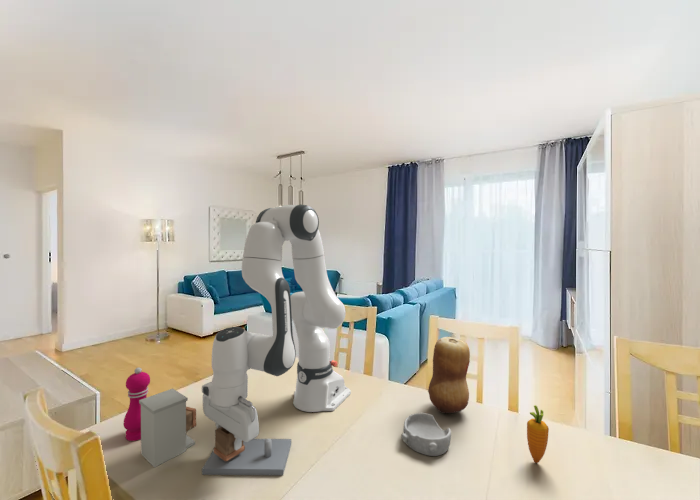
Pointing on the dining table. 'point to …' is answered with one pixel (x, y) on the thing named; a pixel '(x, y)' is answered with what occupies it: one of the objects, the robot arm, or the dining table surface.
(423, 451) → the dish
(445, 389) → the butternut squash
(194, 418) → the sleeve
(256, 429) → the robot arm
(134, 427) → the pepper mill
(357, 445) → the dining table surface
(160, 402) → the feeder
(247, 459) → the pin board
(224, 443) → the sleeve
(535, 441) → the carrot
